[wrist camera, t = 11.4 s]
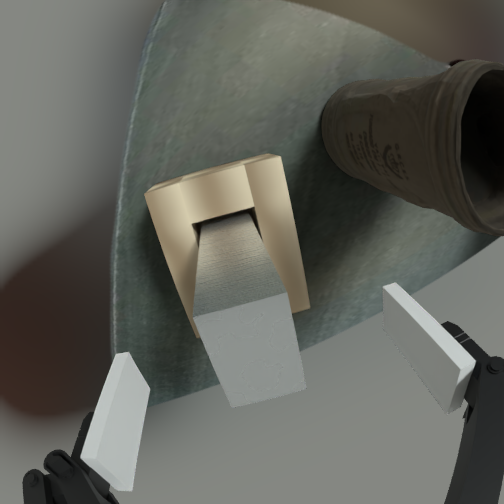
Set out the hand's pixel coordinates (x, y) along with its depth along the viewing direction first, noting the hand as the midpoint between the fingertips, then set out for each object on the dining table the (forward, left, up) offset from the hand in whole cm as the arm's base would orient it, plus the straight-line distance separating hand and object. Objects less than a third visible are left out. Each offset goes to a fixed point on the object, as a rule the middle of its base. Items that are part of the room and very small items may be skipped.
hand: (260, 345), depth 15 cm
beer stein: (-18, -8, -18) cm, 27 cm away
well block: (0, 0, -18) cm, 18 cm away
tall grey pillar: (0, 0, -17) cm, 17 cm away
